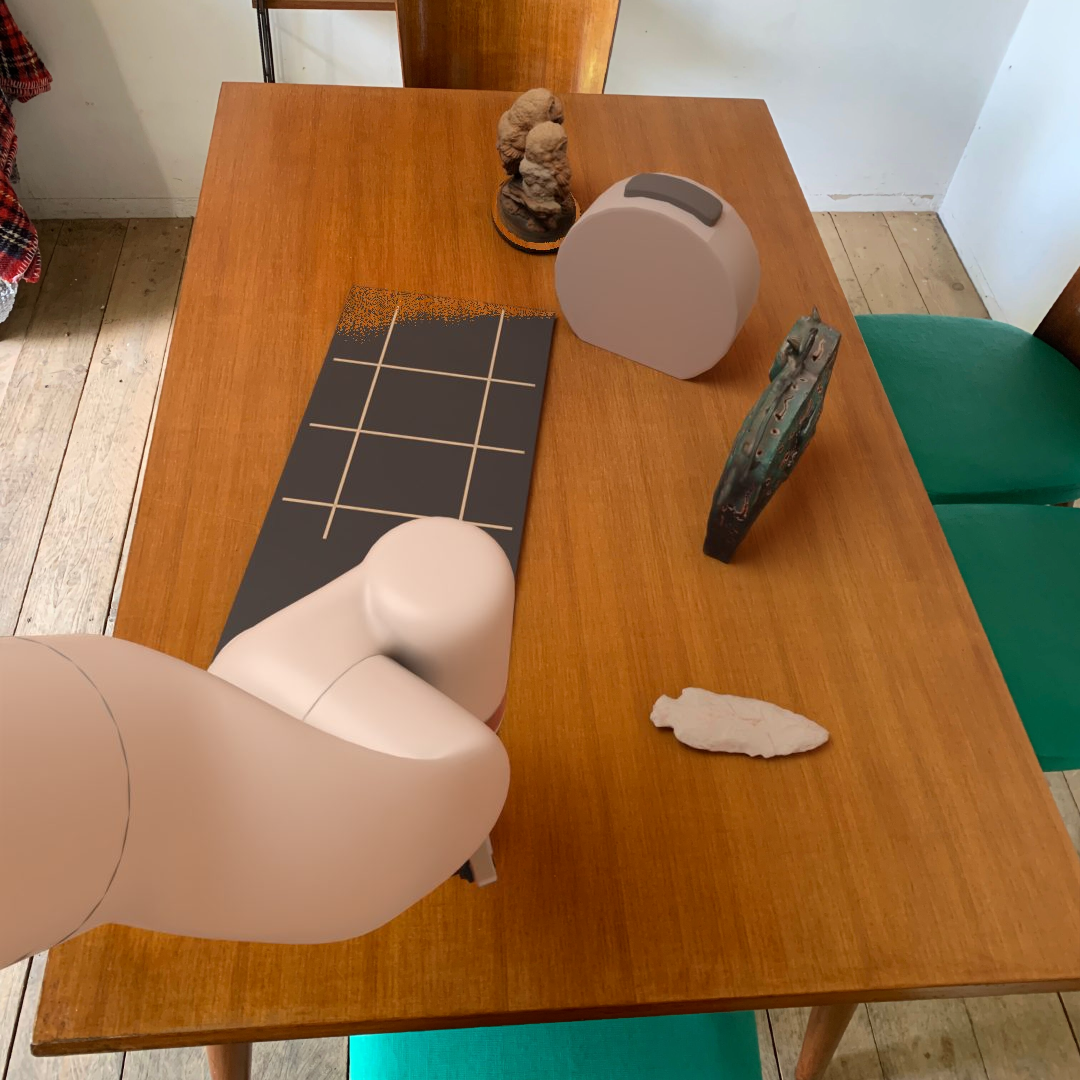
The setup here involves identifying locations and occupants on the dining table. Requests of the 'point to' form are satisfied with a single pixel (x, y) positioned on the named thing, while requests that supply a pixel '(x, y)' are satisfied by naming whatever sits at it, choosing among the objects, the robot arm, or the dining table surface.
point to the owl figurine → (535, 171)
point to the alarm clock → (659, 274)
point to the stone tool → (736, 724)
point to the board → (401, 446)
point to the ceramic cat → (773, 433)
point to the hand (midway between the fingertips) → (444, 802)
